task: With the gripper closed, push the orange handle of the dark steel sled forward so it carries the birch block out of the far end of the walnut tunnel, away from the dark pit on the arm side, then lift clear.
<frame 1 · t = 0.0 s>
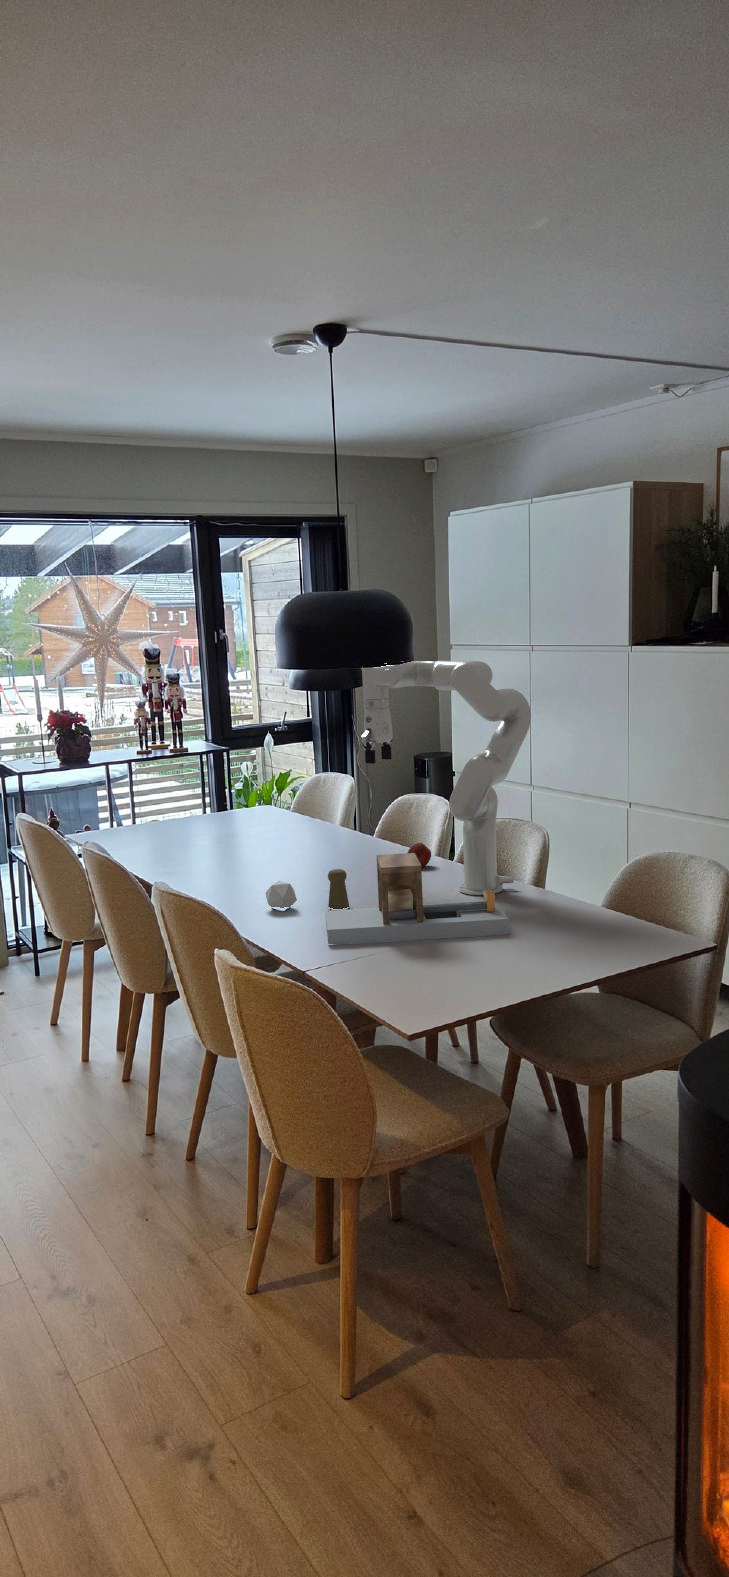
hand: (378, 761, 315), 37 cm above the table, tool pointing down, fingers open, 9 cm apart
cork: (338, 908, 291), on the table
tunnel: (399, 887, 265), on the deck, point 11 cm above the table
apple: (419, 867, 337), on the table
sled: (438, 903, 266), point 7 cm above the table, slide at 0.0 cm
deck: (401, 930, 267), on the table
block: (400, 915, 266), point 4 cm above the table, touching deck
die: (281, 910, 292), on the table
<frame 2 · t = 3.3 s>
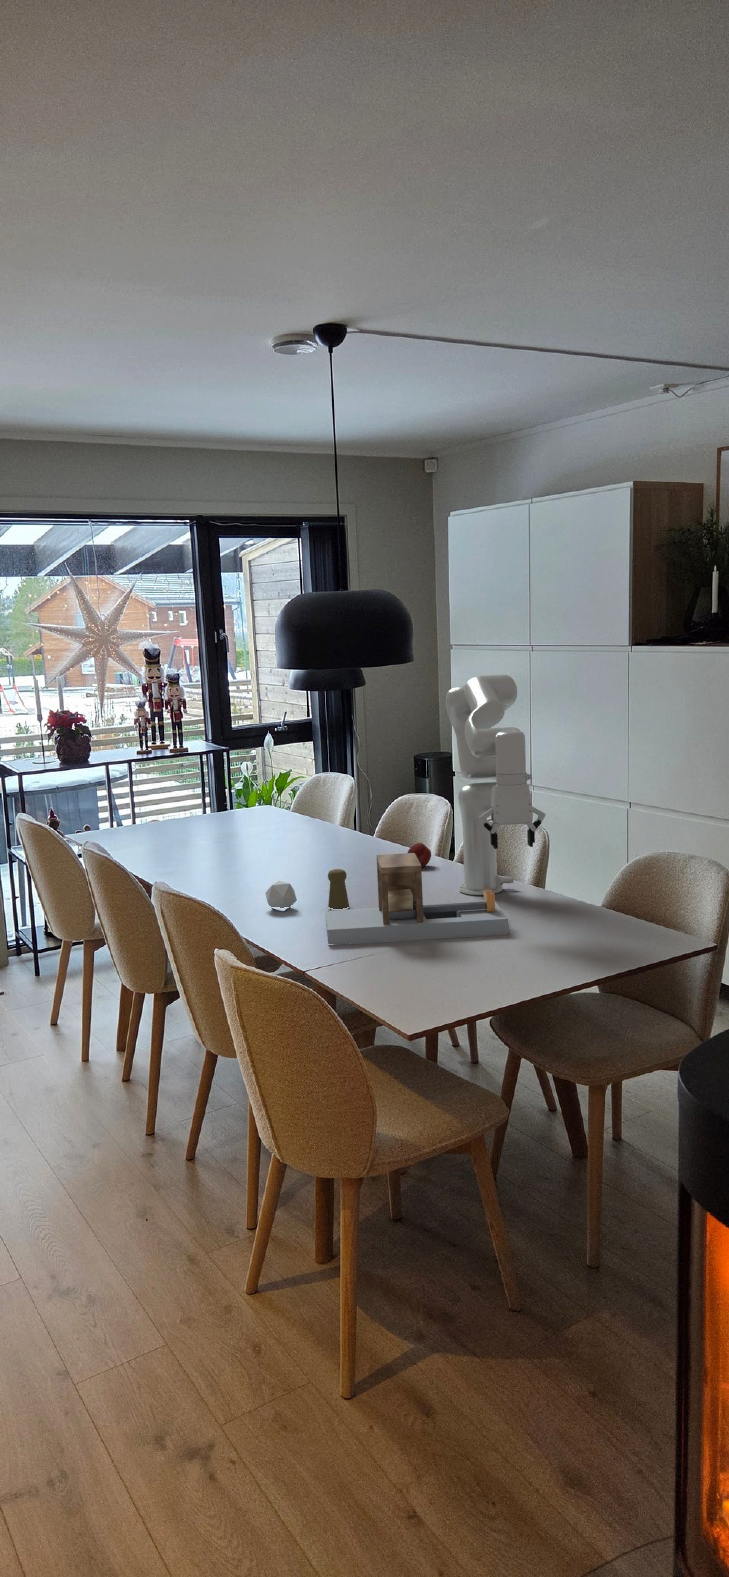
hand: (512, 846, 265), 20 cm above the table, tool pointing down, fingers open, 8 cm apart
nothing on the table moved.
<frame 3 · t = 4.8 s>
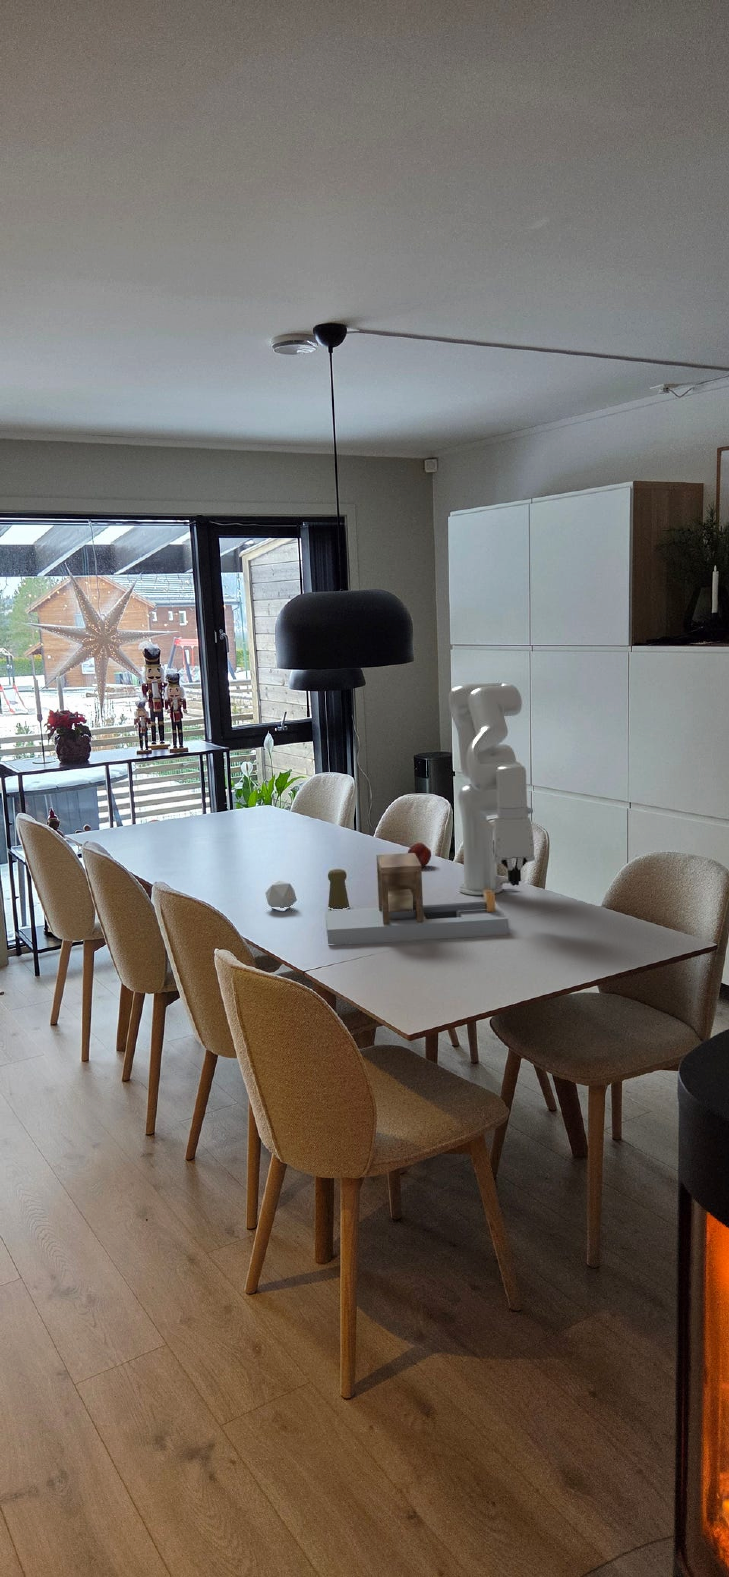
hand: (514, 884, 266), 11 cm above the table, tool pointing down, fingers closed
nothing on the table moved.
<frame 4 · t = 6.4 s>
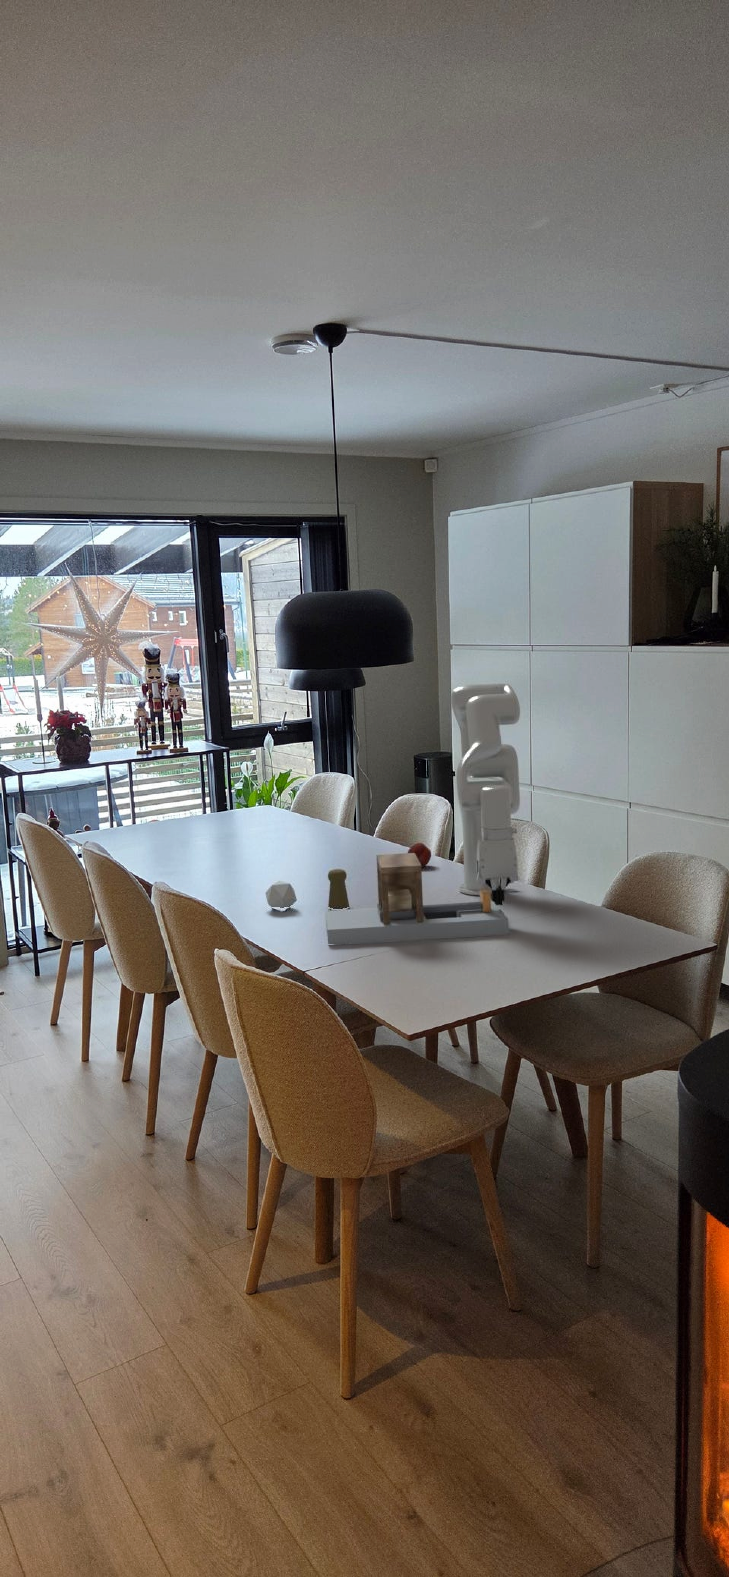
hand: (498, 903, 267), 6 cm above the table, tool pointing down, fingers closed
sled: (434, 903, 266), point 7 cm above the table, slide at 1.1 cm, touching gripper
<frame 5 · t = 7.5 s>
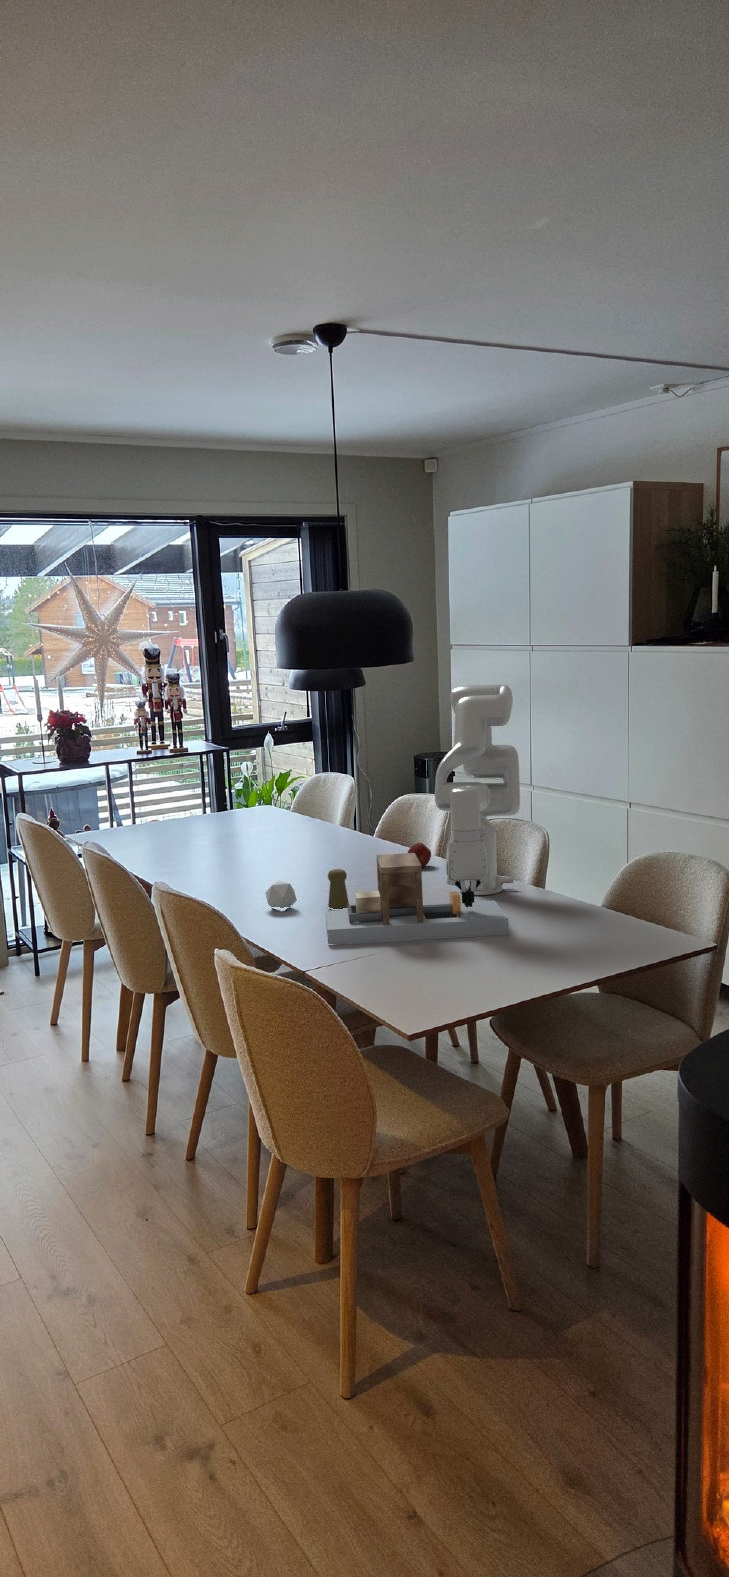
hand: (468, 905, 267), 6 cm above the table, tool pointing down, fingers closed
sled: (403, 905, 266), point 7 cm above the table, slide at 8.8 cm, touching block, gripper
block: (368, 917, 265), point 4 cm above the table, touching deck, sled
everything else where it was.
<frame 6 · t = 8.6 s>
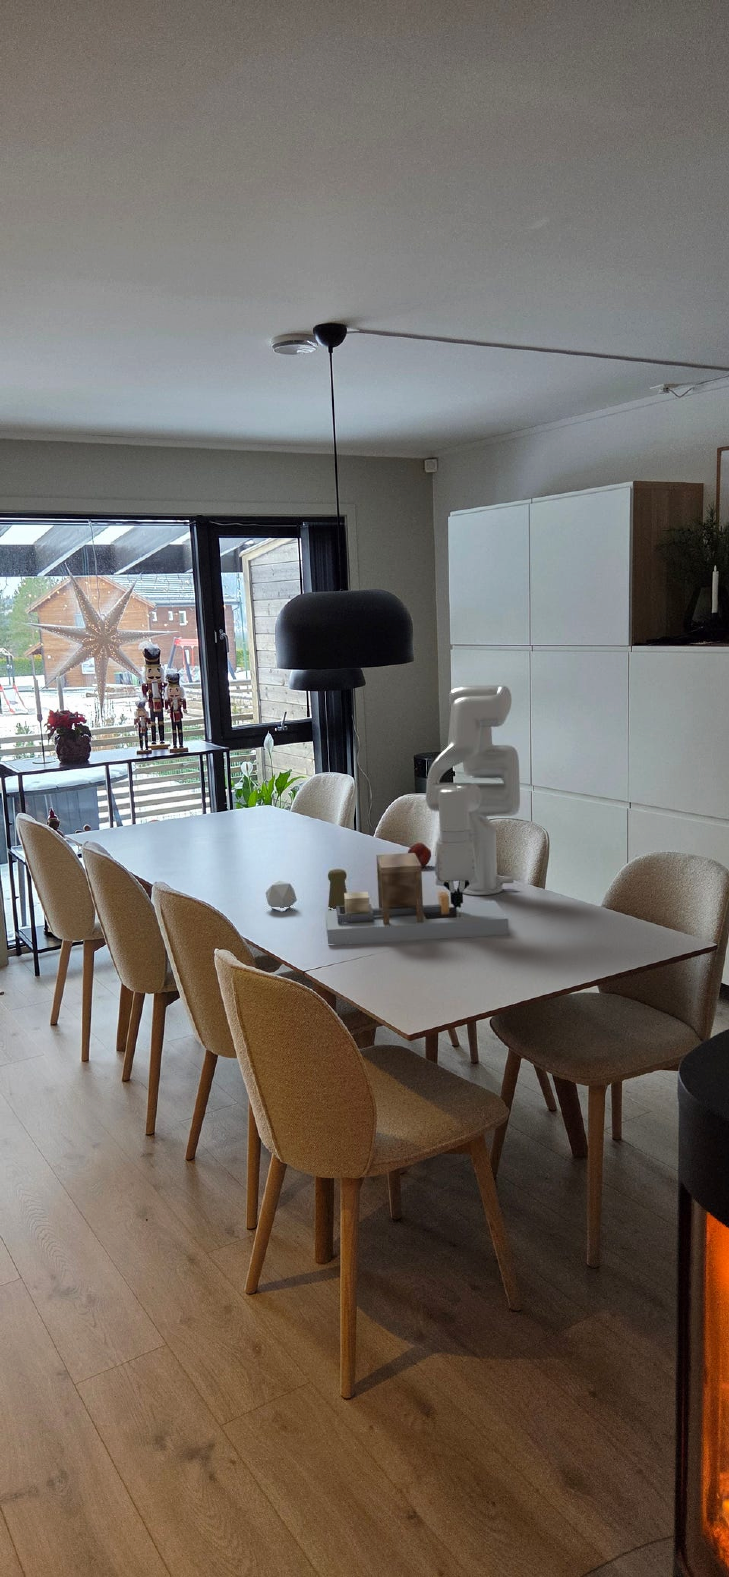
hand: (456, 906, 267), 6 cm above the table, tool pointing down, fingers closed
sled: (392, 906, 265), point 7 cm above the table, slide at 11.7 cm, touching block, gripper
block: (357, 918, 265), point 4 cm above the table, touching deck, sled
everything else where it was.
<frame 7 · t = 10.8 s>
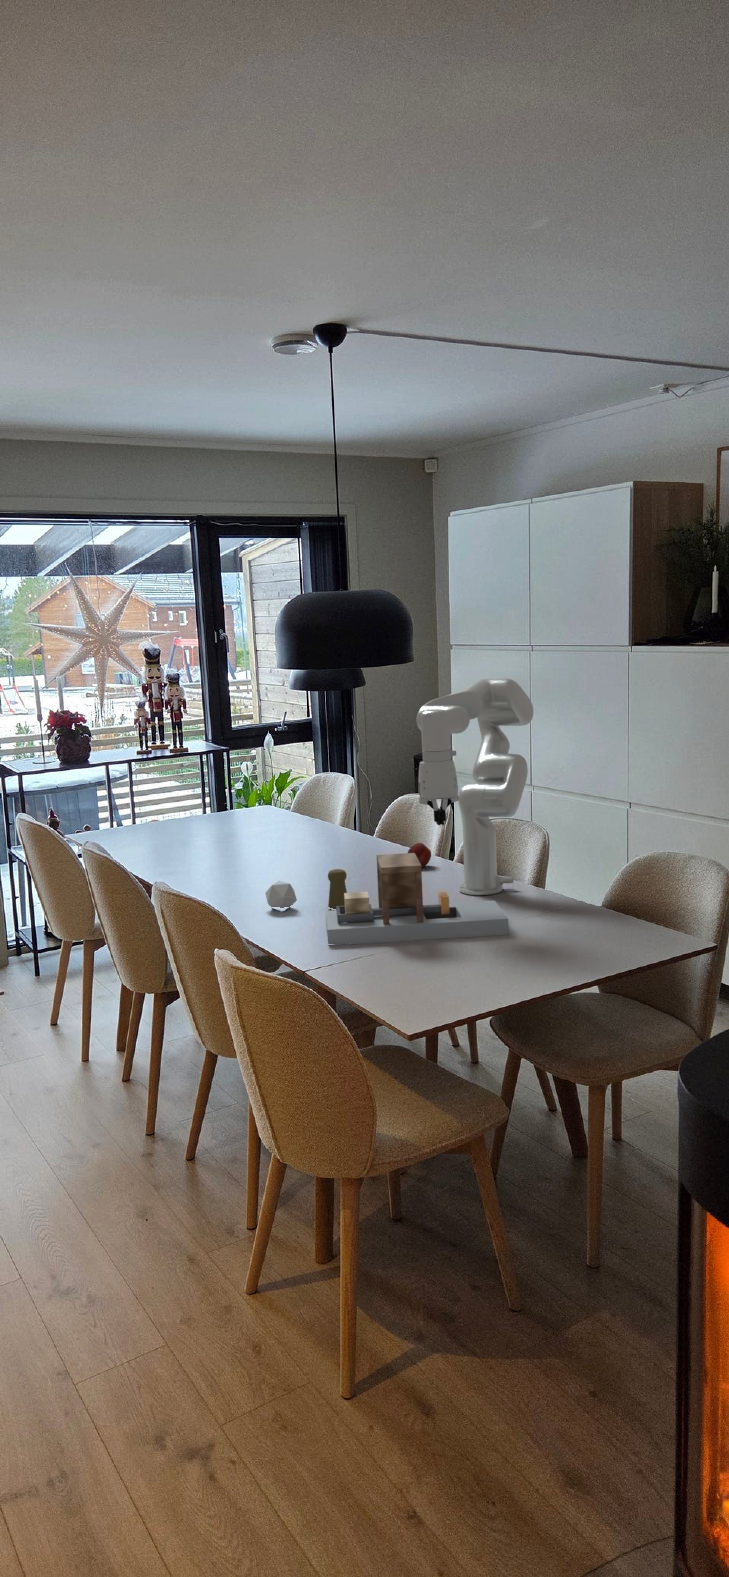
hand: (440, 823, 278), 24 cm above the table, tool pointing down, fingers closed
sled: (392, 906, 265), point 7 cm above the table, slide at 11.8 cm, touching block
everything else where it was.
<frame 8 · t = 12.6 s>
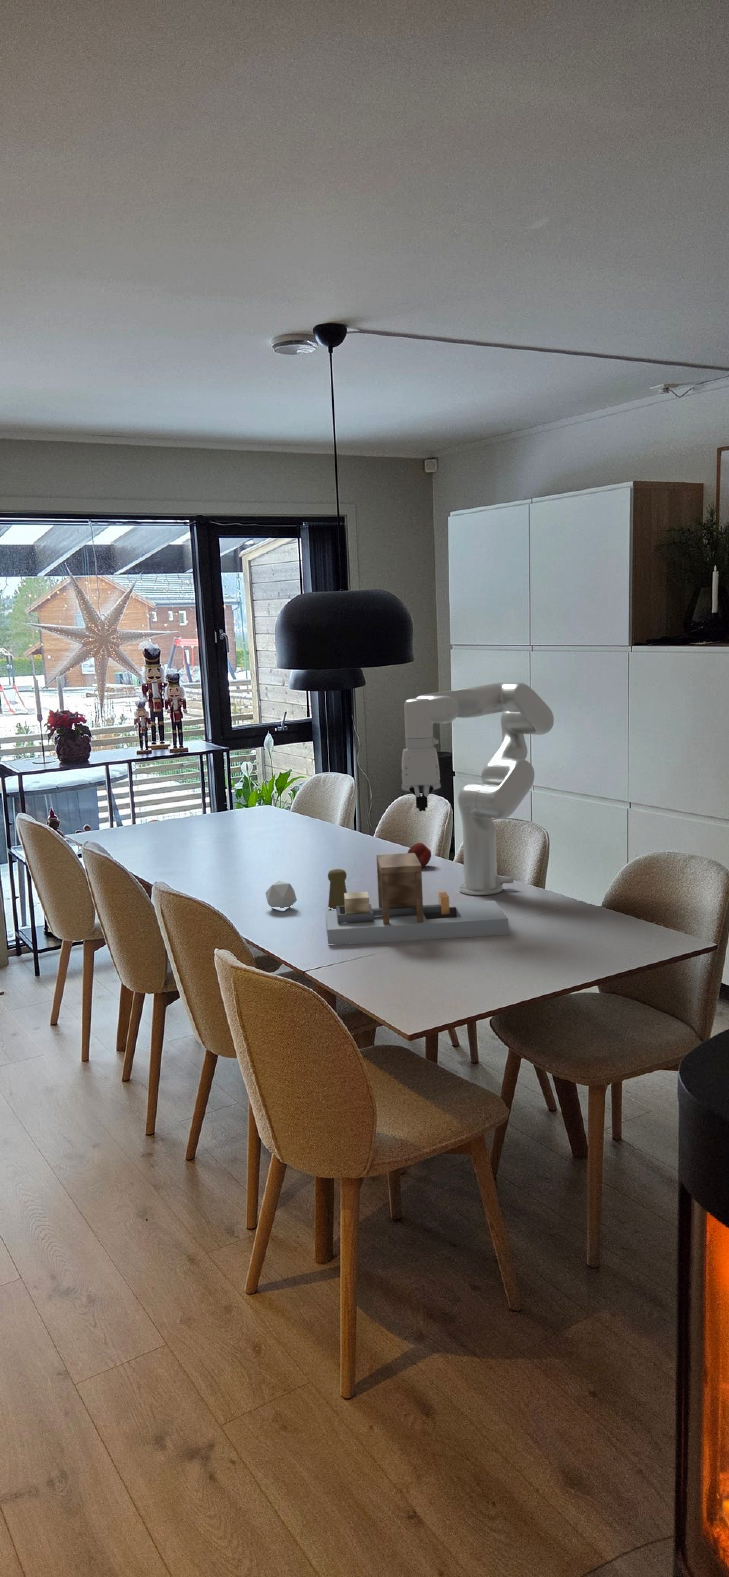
hand: (422, 810, 285), 27 cm above the table, tool pointing down, fingers closed
nothing on the table moved.
at the end: block inside the target area (1.1 cm from its centre), point 4.0 cm above the table; sled slide at 11.8 cm; block tilted 0° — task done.
